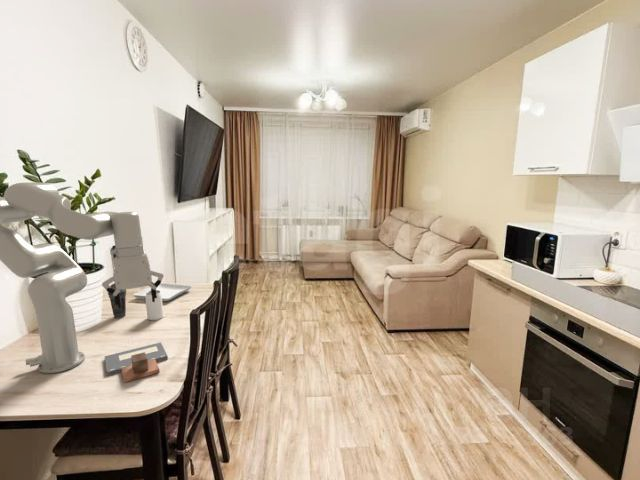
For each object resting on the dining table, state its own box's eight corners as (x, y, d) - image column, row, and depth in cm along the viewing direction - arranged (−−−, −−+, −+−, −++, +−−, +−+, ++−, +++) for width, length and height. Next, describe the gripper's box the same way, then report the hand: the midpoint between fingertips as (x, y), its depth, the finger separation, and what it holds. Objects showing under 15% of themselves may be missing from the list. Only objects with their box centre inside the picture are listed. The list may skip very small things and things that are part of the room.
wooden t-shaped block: (124, 382, 106) (122, 367, 105) (121, 371, 112) (120, 356, 111) (159, 372, 112) (158, 357, 111) (155, 362, 117) (154, 348, 117)
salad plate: (192, 291, 192) (192, 285, 191) (168, 304, 172) (167, 298, 171) (159, 288, 197) (159, 282, 196) (131, 301, 176) (131, 294, 176)
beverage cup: (116, 320, 152) (111, 276, 148) (107, 317, 155) (102, 274, 152) (132, 315, 158) (127, 272, 154) (123, 312, 161) (119, 270, 158)
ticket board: (107, 375, 110) (106, 371, 110) (104, 359, 120) (104, 356, 119) (167, 358, 120) (167, 355, 120) (161, 345, 130) (160, 342, 129)
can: (144, 319, 153) (141, 293, 151) (156, 314, 159) (153, 289, 157) (155, 321, 151) (152, 295, 149) (166, 316, 157) (164, 290, 154)
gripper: (96, 257, 101) (104, 313, 104) (160, 250, 109) (167, 301, 112) (98, 253, 108) (106, 305, 111) (159, 246, 115) (165, 295, 118)
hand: (137, 303), depth 111 cm, fingers open, 9 cm apart
